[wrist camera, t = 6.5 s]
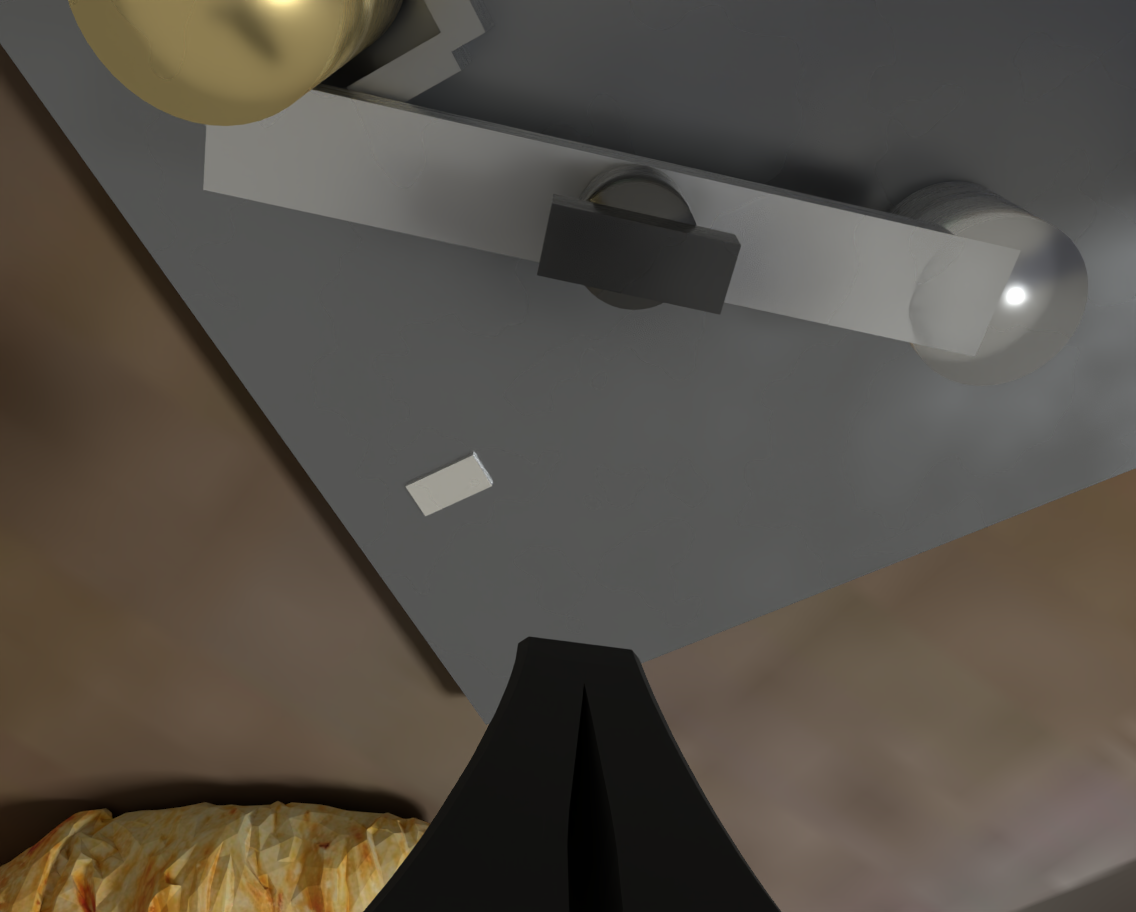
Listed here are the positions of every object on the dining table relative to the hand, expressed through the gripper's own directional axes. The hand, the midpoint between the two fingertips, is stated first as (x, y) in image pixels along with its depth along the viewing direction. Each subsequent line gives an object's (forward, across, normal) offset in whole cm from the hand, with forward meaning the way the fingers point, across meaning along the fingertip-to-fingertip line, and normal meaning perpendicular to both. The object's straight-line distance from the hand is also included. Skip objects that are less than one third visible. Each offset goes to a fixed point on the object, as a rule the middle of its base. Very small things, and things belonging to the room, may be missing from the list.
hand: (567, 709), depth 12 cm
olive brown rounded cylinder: (+9, +5, -7) cm, 13 cm away
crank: (+9, -1, -4) cm, 10 cm away
